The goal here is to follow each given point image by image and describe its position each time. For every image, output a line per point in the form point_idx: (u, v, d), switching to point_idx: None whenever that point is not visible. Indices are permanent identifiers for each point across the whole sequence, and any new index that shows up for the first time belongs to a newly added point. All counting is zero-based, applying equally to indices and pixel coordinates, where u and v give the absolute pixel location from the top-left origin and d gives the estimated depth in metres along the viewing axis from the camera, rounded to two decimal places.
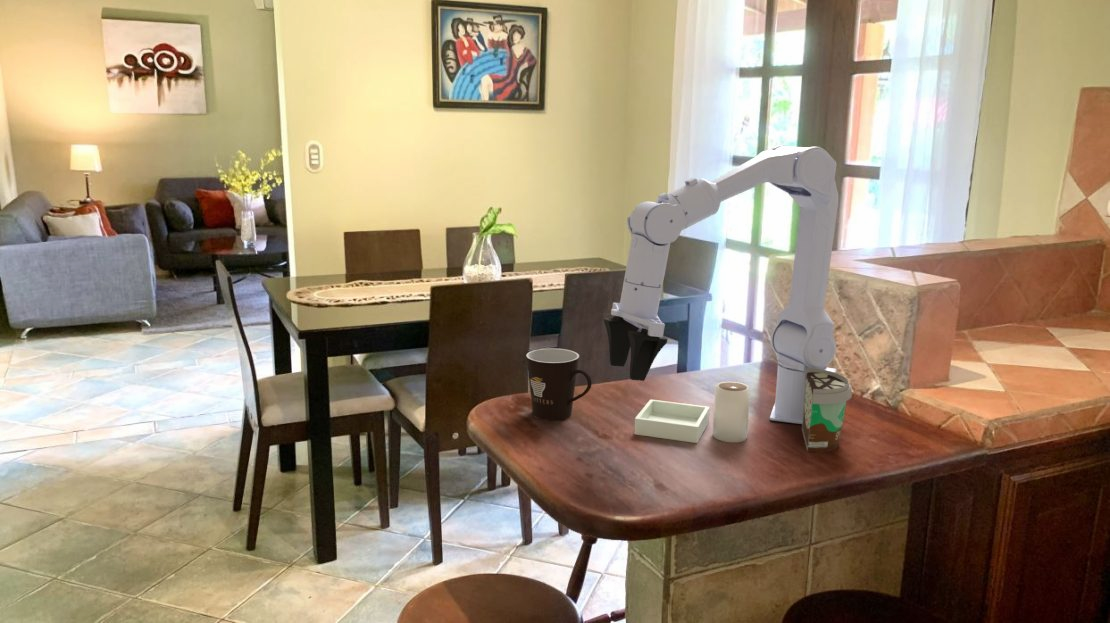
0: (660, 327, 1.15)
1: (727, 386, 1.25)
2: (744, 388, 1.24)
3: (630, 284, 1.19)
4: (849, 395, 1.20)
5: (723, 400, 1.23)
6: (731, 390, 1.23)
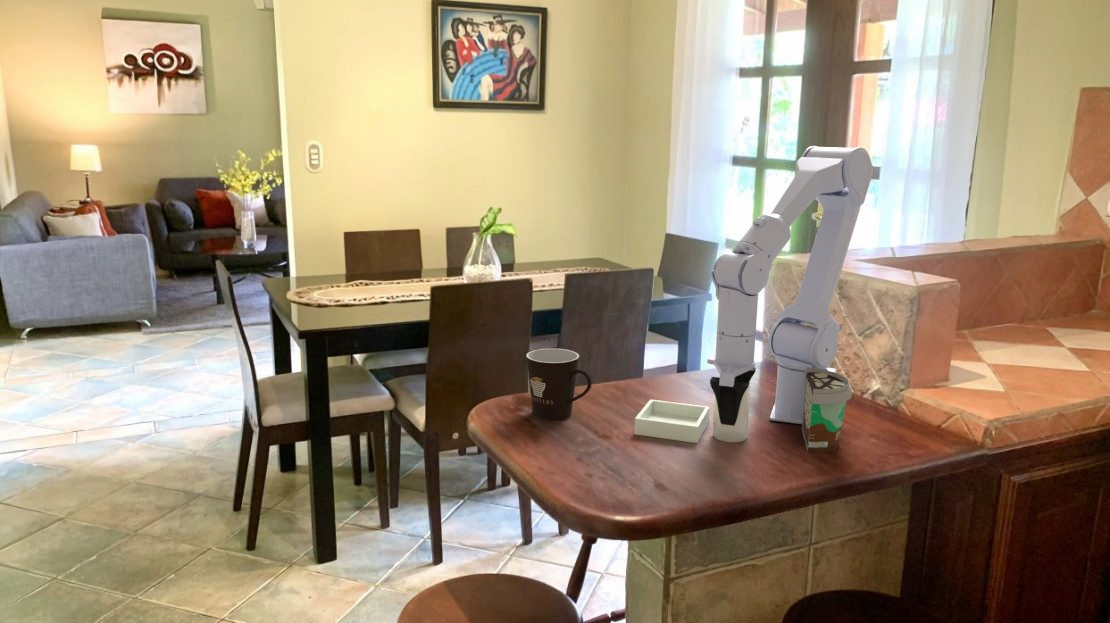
0: (729, 377, 1.17)
1: None
2: None
3: (717, 333, 1.23)
4: (849, 395, 1.20)
5: None
6: None
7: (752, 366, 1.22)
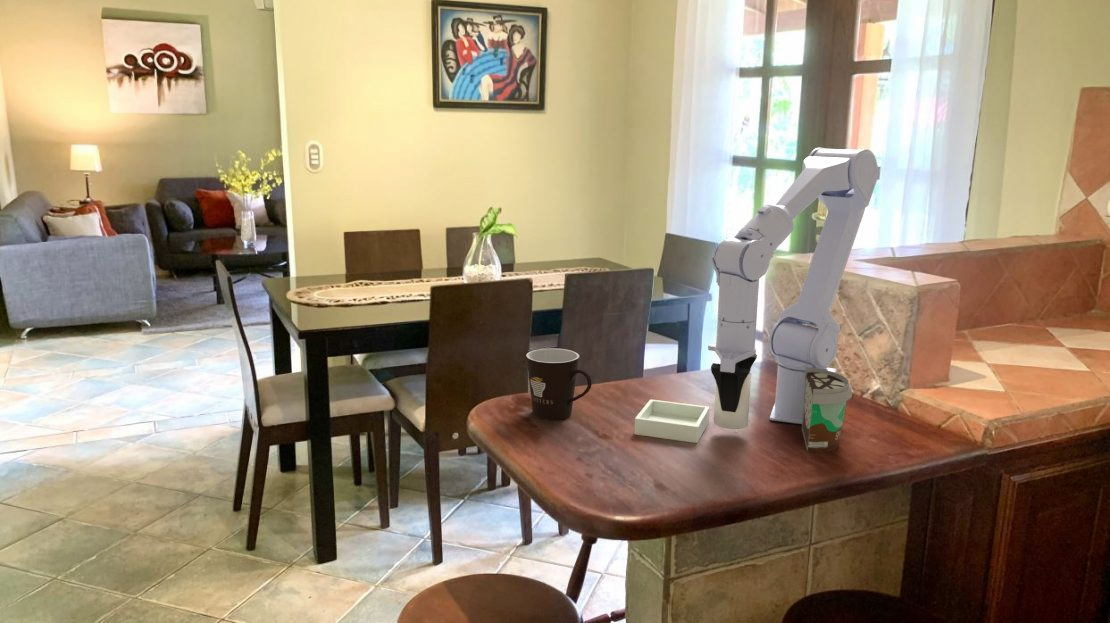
0: (730, 363, 1.17)
1: None
2: None
3: (718, 320, 1.22)
4: (849, 395, 1.20)
5: None
6: None
7: (753, 352, 1.22)
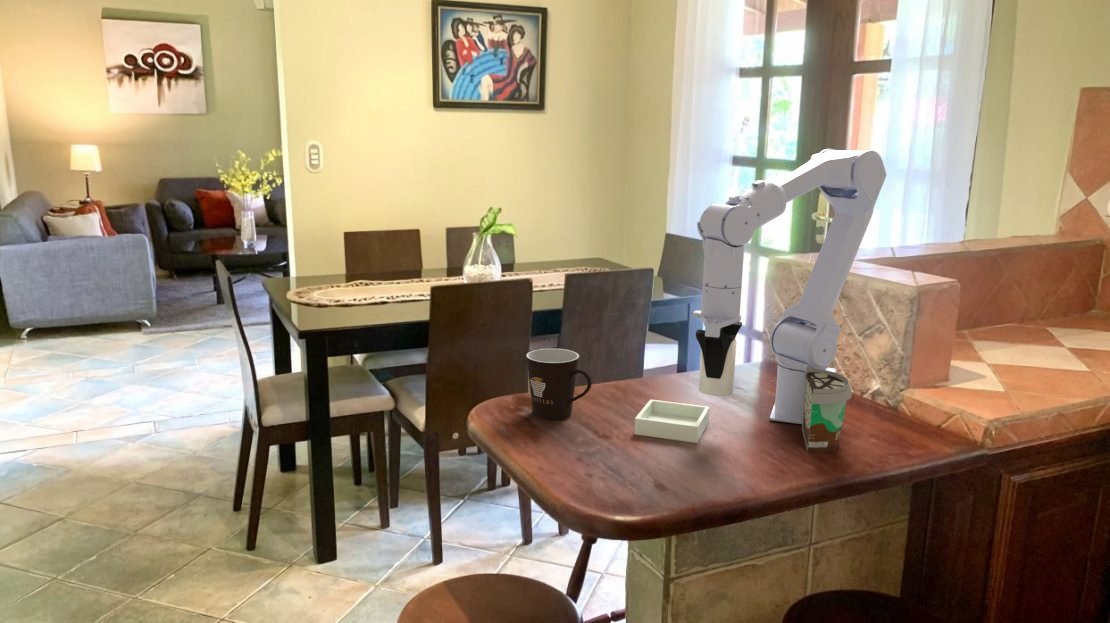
0: (714, 327, 1.17)
1: None
2: None
3: (703, 286, 1.22)
4: (849, 395, 1.20)
5: None
6: None
7: (738, 319, 1.22)
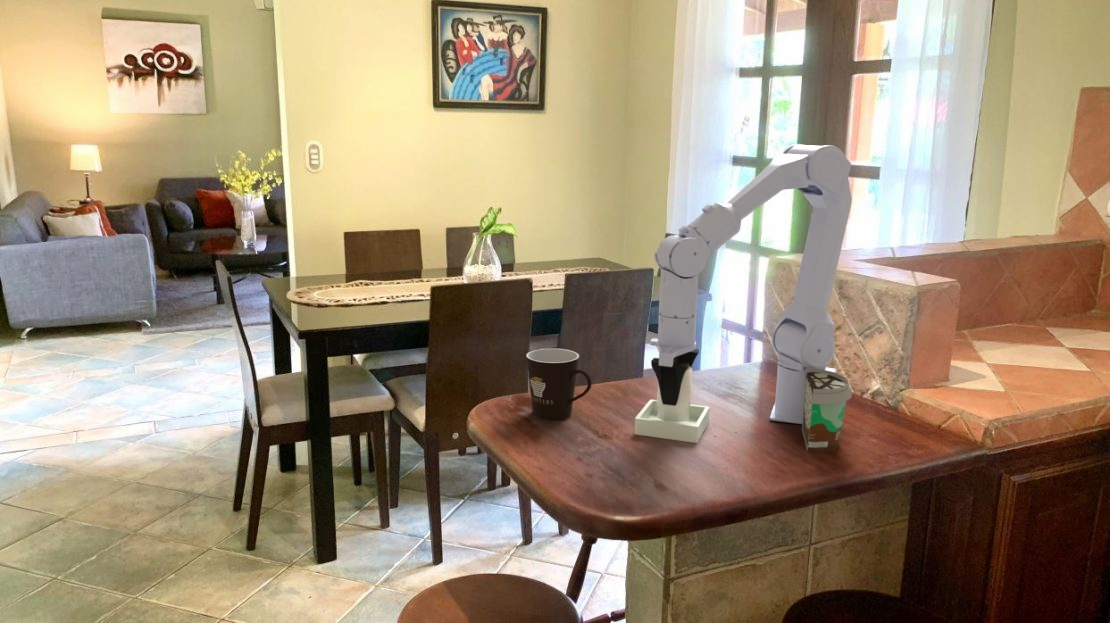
0: (667, 357, 1.20)
1: None
2: None
3: (659, 315, 1.26)
4: (849, 395, 1.20)
5: None
6: None
7: (693, 347, 1.25)
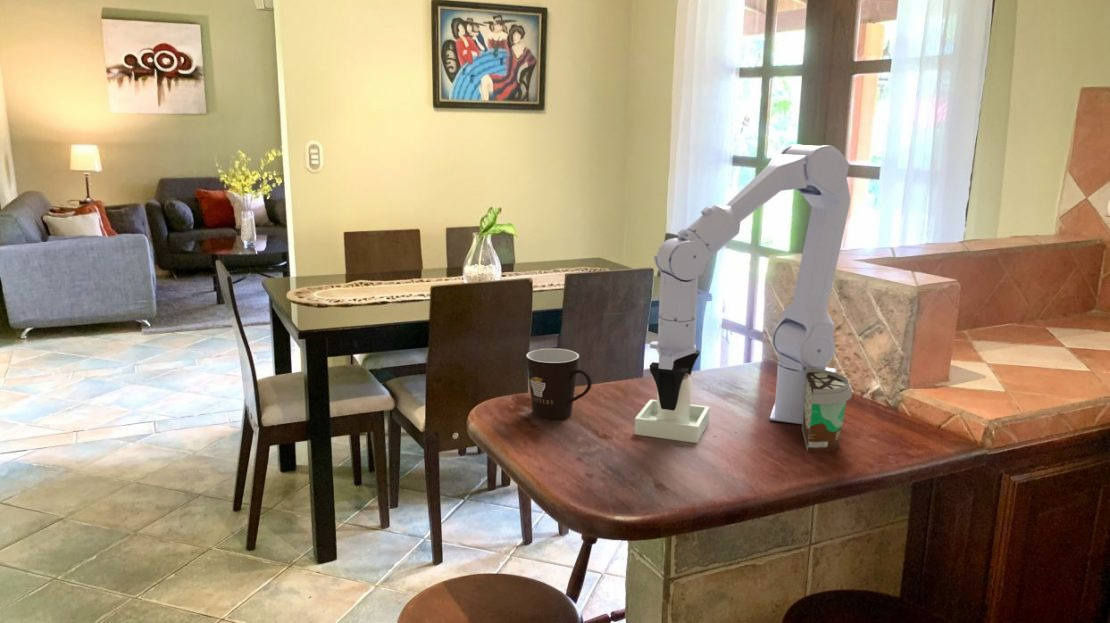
0: (667, 360, 1.20)
1: None
2: (686, 377, 1.27)
3: (659, 318, 1.26)
4: (849, 395, 1.20)
5: None
6: None
7: (693, 350, 1.25)
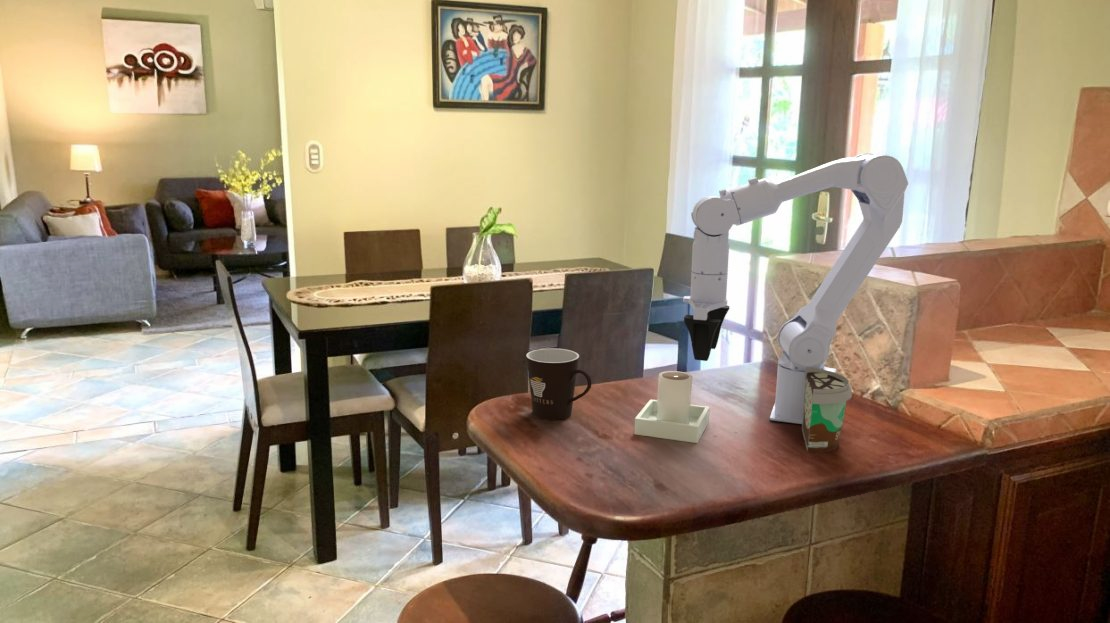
0: (702, 311, 1.26)
1: (670, 375, 1.28)
2: (686, 377, 1.27)
3: (692, 273, 1.31)
4: (849, 395, 1.20)
5: (665, 389, 1.26)
6: (673, 379, 1.26)
7: (724, 303, 1.30)
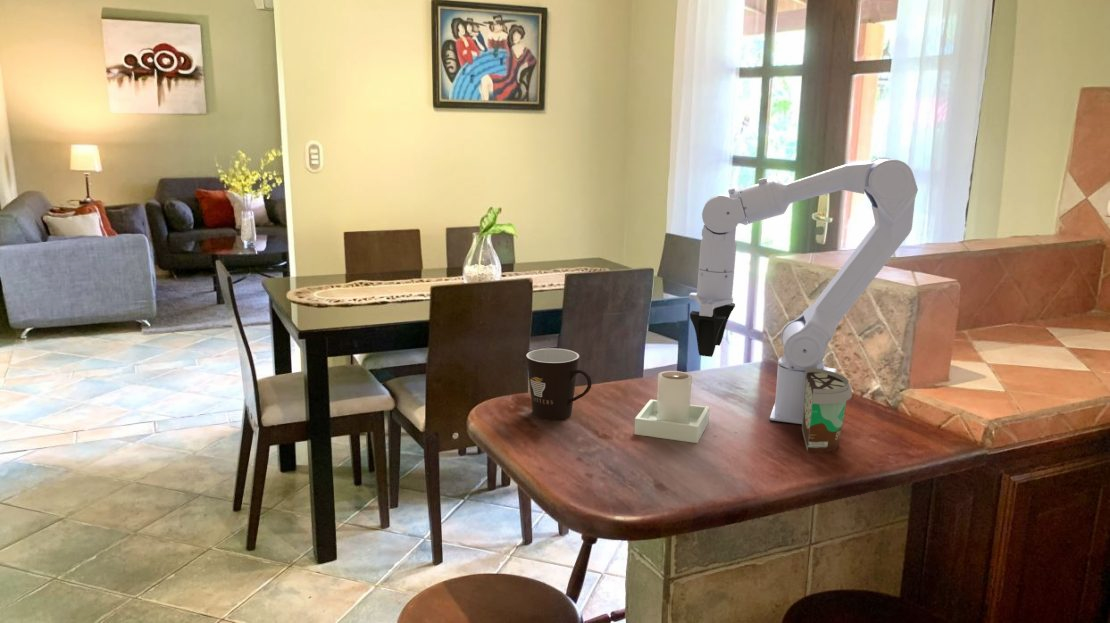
0: (708, 307, 1.28)
1: (669, 375, 1.28)
2: (686, 377, 1.27)
3: (699, 270, 1.33)
4: (849, 395, 1.20)
5: (664, 388, 1.27)
6: (672, 378, 1.26)
7: (730, 300, 1.32)
